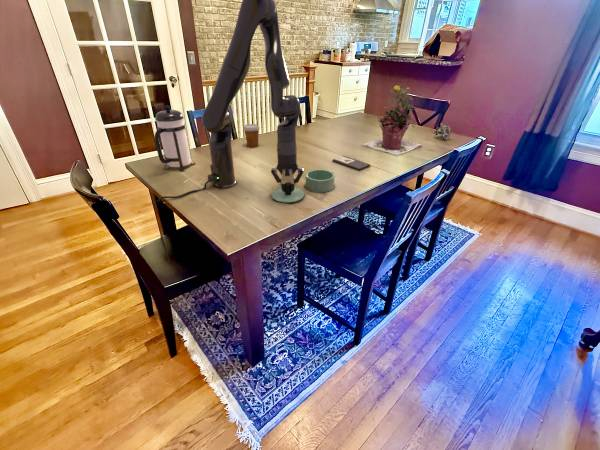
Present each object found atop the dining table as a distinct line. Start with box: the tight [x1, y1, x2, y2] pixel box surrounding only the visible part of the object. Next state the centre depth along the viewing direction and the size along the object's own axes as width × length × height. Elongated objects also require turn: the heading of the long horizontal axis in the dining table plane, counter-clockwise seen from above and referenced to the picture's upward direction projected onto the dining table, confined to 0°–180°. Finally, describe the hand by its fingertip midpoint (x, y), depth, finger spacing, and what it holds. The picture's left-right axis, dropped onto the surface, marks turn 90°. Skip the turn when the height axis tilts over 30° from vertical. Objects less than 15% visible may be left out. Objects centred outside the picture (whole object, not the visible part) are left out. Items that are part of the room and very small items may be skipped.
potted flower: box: [362, 82, 422, 157], centre depth 178 cm, size 27×25×35 cm
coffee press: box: [154, 104, 196, 172], centre depth 148 cm, size 17×16×30 cm
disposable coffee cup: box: [243, 123, 260, 148], centre depth 184 cm, size 10×10×12 cm
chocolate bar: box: [332, 155, 371, 172], centre depth 161 cm, size 9×1×18 cm
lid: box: [271, 182, 305, 203], centre depth 127 cm, size 14×14×6 cm
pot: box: [305, 169, 335, 193], centre depth 136 cm, size 13×13×6 cm
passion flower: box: [432, 122, 452, 141], centre depth 199 cm, size 11×11×12 cm
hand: (287, 191), depth 127 cm, fingers closed on lid, 2 cm apart
